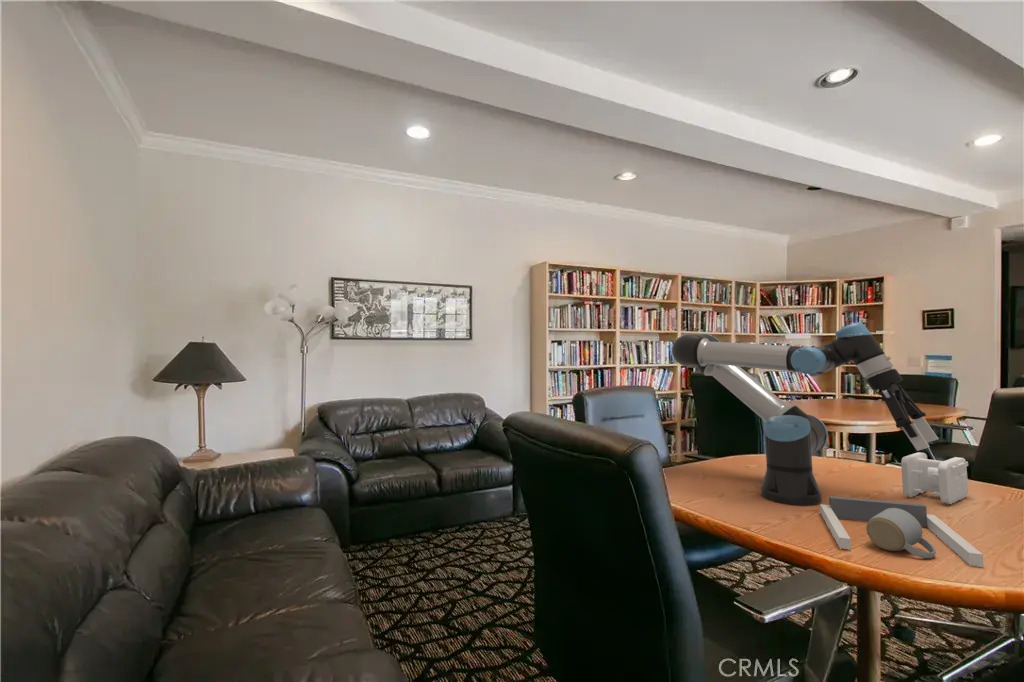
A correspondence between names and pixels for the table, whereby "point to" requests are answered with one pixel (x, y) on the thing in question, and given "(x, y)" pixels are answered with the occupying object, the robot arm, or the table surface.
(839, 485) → the table surface
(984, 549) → the table surface
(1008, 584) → the table surface
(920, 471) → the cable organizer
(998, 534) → the table surface
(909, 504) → the guide track
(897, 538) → the ceramic mug
